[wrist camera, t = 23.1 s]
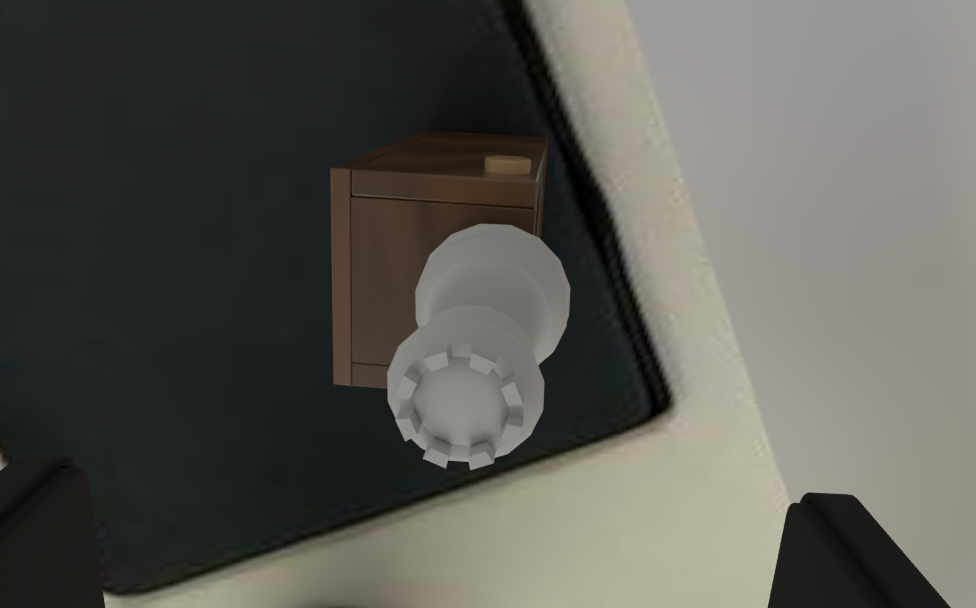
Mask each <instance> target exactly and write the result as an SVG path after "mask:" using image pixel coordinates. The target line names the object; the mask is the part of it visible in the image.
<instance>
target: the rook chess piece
mask: <svg viewBox="0 0 976 608" xmlns="http://www.w3.org/2000/svg"><path fill="white" fill-rule="evenodd" d="M415 296H416V321H417V324H418V326H419V328H418V329H417V330H416V331H415V332H414V333H413V334H412V335H410V336H409V337H408V338H407V339H406V340H405V341H404V342H403V343H402V344H401V345H399V346H398V349H397V351H396V353H395V356H394V358H393V361H392V363H391V365H390V368H389V370H388V372H387V382H388V402H389V405H390V407H391V409H392V411H393V413H394V416H395V418H396V422H397V425H398V427H399V429H400V431H401V433H402V435H403V438H404V440H405V441H407V440H409V439H412V440H413V441H414V442H415V443H416V444H417V445H419V446H420V447H421V448H422V449H424V450H426V451H425V454H424V457H423V459H425V460H428V461H430V462H432V463H434V464H437V465H439V466H441V467H443V468H446V466H447V462H448V460H449V461H464V462H469V466H470V470H473V469H476V468H479V467H483V466H486V465H489V464H493V463H494V458H496V457H499V456H502V455H506V454H508V453H509V452H511V451H512V450H513V449H514V448H516V447H517V446H518V445H519V444H520V443H522V442H523V441H524V440H525V439H527V438H528V437H529V436H530V435H531V433H532V431H533V429H534V427H535V425H536V423H537V421H538V419H539V417H540V415H541V413H542V412H543V400H544V380H543V377H542V374H541V372H540V369H539V367H538V365H539V364H540V363H541V362H542V361H543V360H545V359H546V358H547V357H548V356H549V355H550V354H552V353H553V352H554V350H555V348H556V346H557V344H558V342H559V340H560V338H561V336H562V334H563V332H564V330H565V328H566V326H567V319H568V317H569V303H570V286H569V283H568V280H567V278H566V275H565V272H564V270H563V267H562V264H561V261H560V260H559V258H558V257H557V256H556V255H555V254H554V253H553V252H552V251H551V250H550V249H549V248H548V247H547V246H546V245H545V244H544V243H543V241H542V240H541V239H540V238H538V237H536V236H534V235H532V234H530V233H527V232H525V231H523V230H521V229H519V228H516V227H514V226H512V225H498V224H478V225H475V226H473V227H470V228H467V229H464V230H462V231H459V232H456V233H454V234H451V235H450V236H449V237H448V238H447V239H446V240H445V241H444V242H443V243H442V244H441V245H440V246H439V247H438V248H436V249H435V250H434V251H433V252H432V253H431V254H430V256H429V258H428V261H427V263H426V265H425V268H424V270H423V272H422V275H421V277H420V280H419V283H418V285H417V288H416V290H415Z"/></svg>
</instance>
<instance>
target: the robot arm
mask: <svg viewBox="0 0 976 608" xmlns="http://www.w3.org/2000/svg"><path fill="white" fill-rule="evenodd" d="M0 608H105V604H104V596H103V588H102V581H101V573H100V565H99V557H98V550H97V542H96V534H95V526H94V519H93V511H92V503H91V496H90V488H89V480H88V476H87V474H86V472H85V471H84V470H82V469H77V468H76V465H75V463H74V462H73V460H72V459H70V458H68V457H55V456H34V455H23V456H20V457H18V458H16V459H14V460H13V461H12V462H11V463H9V464H8V465H7V466H6V467H4V468H3V469H2V470H1V471H0ZM768 608H950V606H949V605H948V604H947V603H946V602H945V601H944V600H943V598H942V597H941V596H940V595H939V594H938V593H937V591H936V590H935V589H934V588H933V587H932V585H931V584H930V583H929V582H928V581H927V580H926V578H925V577H924V576H923V575H922V574H921V573H920V571H919V570H918V569H917V568H916V567H915V566H914V564H913V563H912V562H911V561H910V560H909V559H908V557H907V556H906V555H905V554H904V553H903V552H902V550H901V549H900V548H899V547H898V546H897V545H896V544H895V542H894V541H893V540H892V539H891V538H890V536H889V535H888V534H887V533H886V532H885V531H884V529H883V528H882V527H881V526H880V525H879V524H878V522H877V521H876V520H875V519H874V518H873V517H872V515H870V513H869V512H868V511H867V510H866V508H865V507H864V506H863V505H862V504H861V503H860V501H859V500H858V499H857V498H855V497H854V496H853V495H848V494H828V493H807V494H805V495H804V496H803V497H802V499H801V501H800V503H793V504H791V505H790V506H789V508H788V511H787V514H786V519H785V524H784V529H783V534H782V539H781V544H780V549H779V554H778V559H777V564H776V569H775V574H774V579H773V584H772V589H771V594H770V599H769V604H768Z"/></svg>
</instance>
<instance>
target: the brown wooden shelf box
mask: <svg viewBox="0 0 976 608" xmlns="http://www.w3.org/2000/svg"><path fill="white" fill-rule="evenodd" d="M547 150H548V138H545V137H528V136H511V135H495V134H478V133H461V132H445V131H437V132H436V131H429V130H424V131H422V132H419V133H417V134H414V135H412V136H409V137H407V138H404V139H402V140H399V141H397V142H394V143H392V144H389V145H387V146H384V147H382V148H379V149H377V150H374V151H372V152H369V153H367V154H364V155H362V156H360V157H357V158H355V159H352V160H350V161H347V162H345V163H342V164H340V165H337V166H335V167H332V168H331V169H330V181H331V248H332V316H333V383H334V384H338V385H350V386H351V385H353V386H361V387H372V388H384V389H388V382H387V372H388V370H389V368H390V365H391V363H392V361H393V358H394V356H395V353H396V351H397V349H398V346H399V345H401V344H402V343H403V342H404V341H405V340H406V339H407V338H408V337H409V336H410V335H412V334H413V333H414V332H415V331H416V330H417V329H418V328H419V326H418V324H417V321H416V296H415V290H416V288H417V285H418V283H419V280H420V277H421V275H422V272H423V270H424V268H425V265H426V263H427V261H428V258H429V256H430V254H431V253H432V252H433V251H434V250H435V249H436V248H438V247H439V246H440V245H441V244H442V243H443V242H444V241H445V240H446V239H447V238H448V237H449V236H450V235H451V234H454V233H456V232H459V231H462V230H464V229H467V228H470V227H473V226H475V225H478V224H498V225H512V226H514V227H516V228H519V229H521V230H523V231H525V232H527V233H530V234H532V235H534V236H536V237H538V238H540V239H541V231H542V217H543V204H544V190H545V177H546V163H547Z"/></svg>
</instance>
